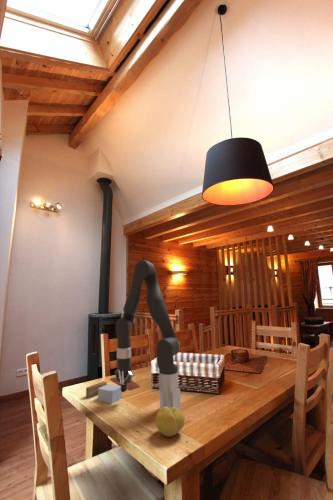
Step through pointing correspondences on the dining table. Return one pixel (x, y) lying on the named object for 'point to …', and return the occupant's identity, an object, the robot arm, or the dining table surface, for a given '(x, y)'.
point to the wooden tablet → (130, 385)
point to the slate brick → (109, 393)
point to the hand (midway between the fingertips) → (123, 391)
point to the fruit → (169, 420)
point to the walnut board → (94, 389)
